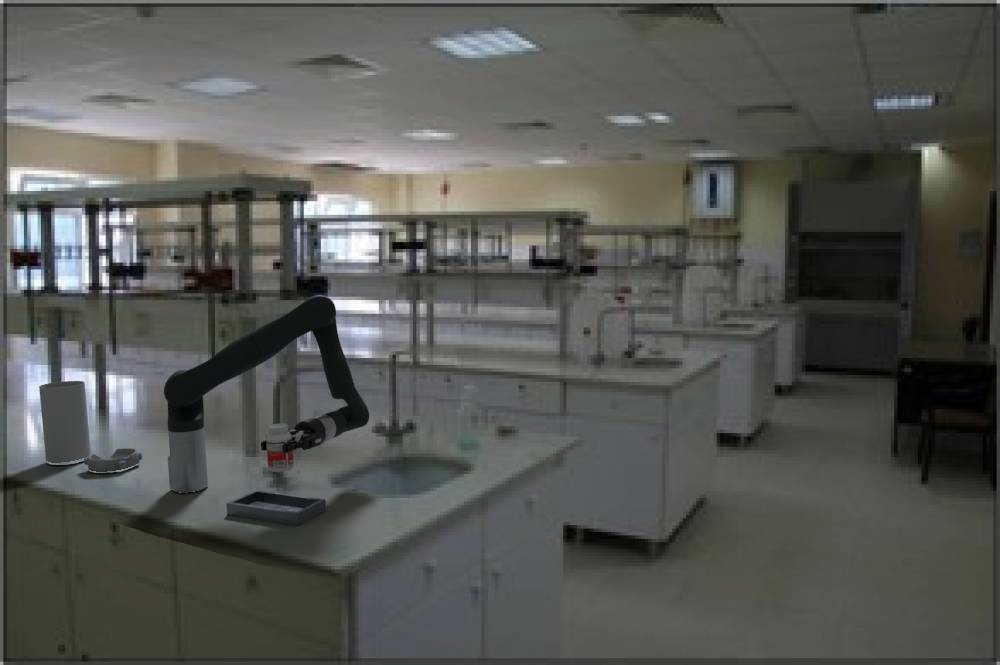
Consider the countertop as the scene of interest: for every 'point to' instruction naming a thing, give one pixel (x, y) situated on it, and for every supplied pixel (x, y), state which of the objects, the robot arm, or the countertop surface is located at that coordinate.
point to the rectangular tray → (276, 507)
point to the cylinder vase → (65, 421)
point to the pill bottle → (278, 448)
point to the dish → (114, 460)
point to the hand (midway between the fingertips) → (273, 447)
